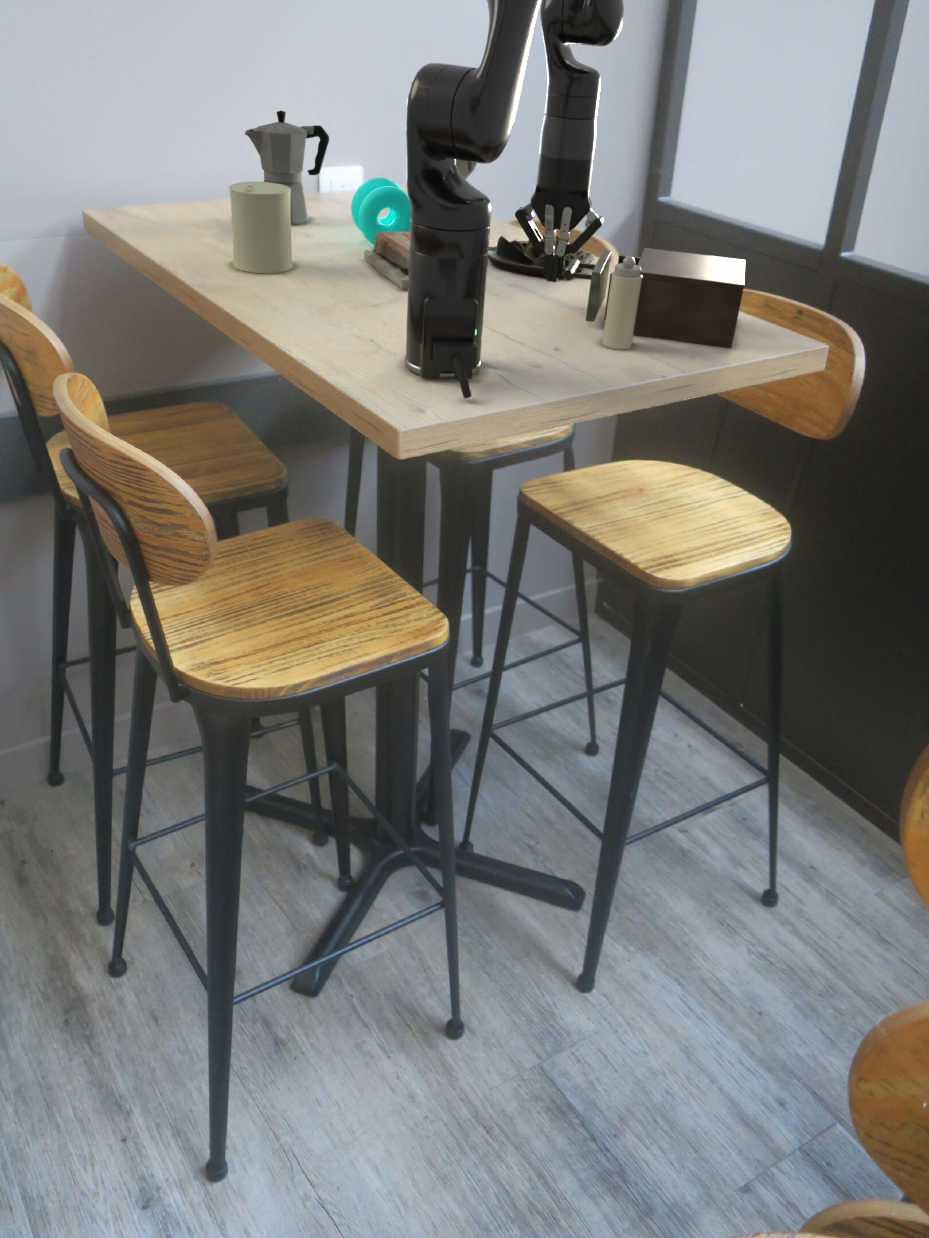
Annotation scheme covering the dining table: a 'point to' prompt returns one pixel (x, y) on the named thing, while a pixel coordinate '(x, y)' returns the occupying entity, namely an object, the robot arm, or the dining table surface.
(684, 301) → the cabinet
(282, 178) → the coffeepot
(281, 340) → the dining table surface
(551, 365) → the dining table surface
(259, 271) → the can
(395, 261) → the packaged product
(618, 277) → the pepper mill
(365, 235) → the donuts
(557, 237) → the salad plate
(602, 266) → the drawer
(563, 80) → the robot arm
